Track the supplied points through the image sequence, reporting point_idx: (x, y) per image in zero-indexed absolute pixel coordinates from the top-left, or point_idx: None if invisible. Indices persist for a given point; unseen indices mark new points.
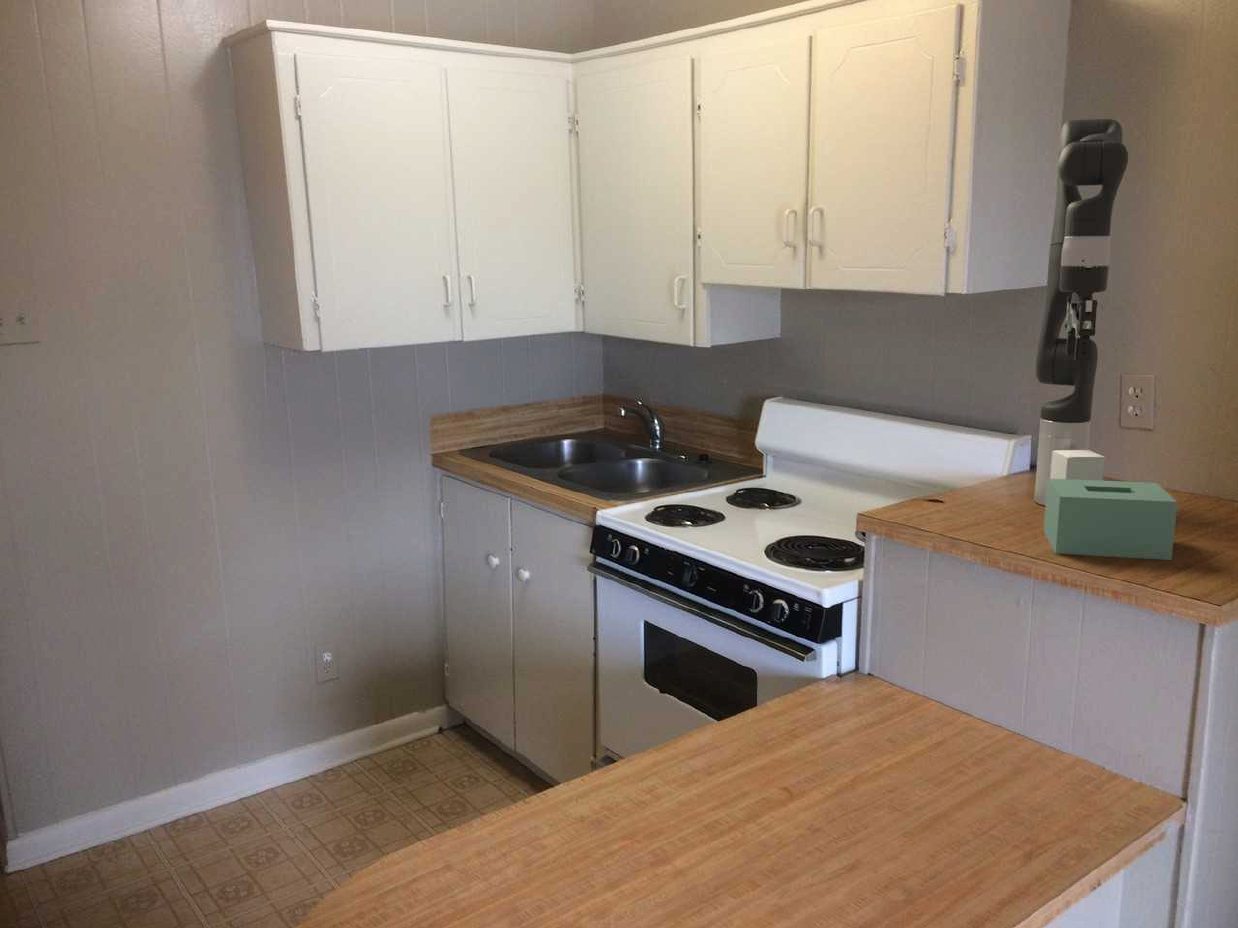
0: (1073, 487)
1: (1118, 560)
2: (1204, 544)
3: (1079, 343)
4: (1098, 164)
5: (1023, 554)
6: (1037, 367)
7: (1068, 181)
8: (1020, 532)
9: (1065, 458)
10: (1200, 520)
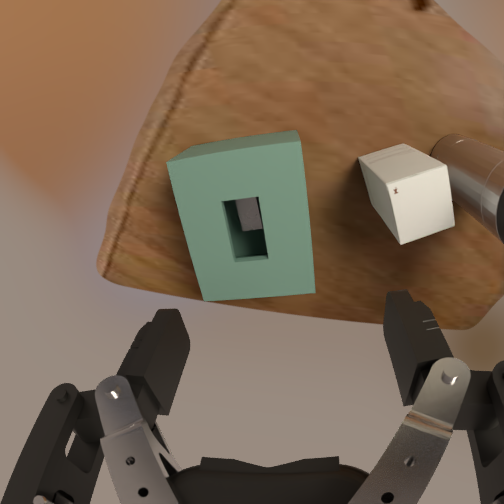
0: (240, 180)
1: None
2: (295, 297)
3: (124, 367)
4: None
5: (173, 111)
6: None
7: None
8: (281, 100)
9: (392, 180)
10: None
